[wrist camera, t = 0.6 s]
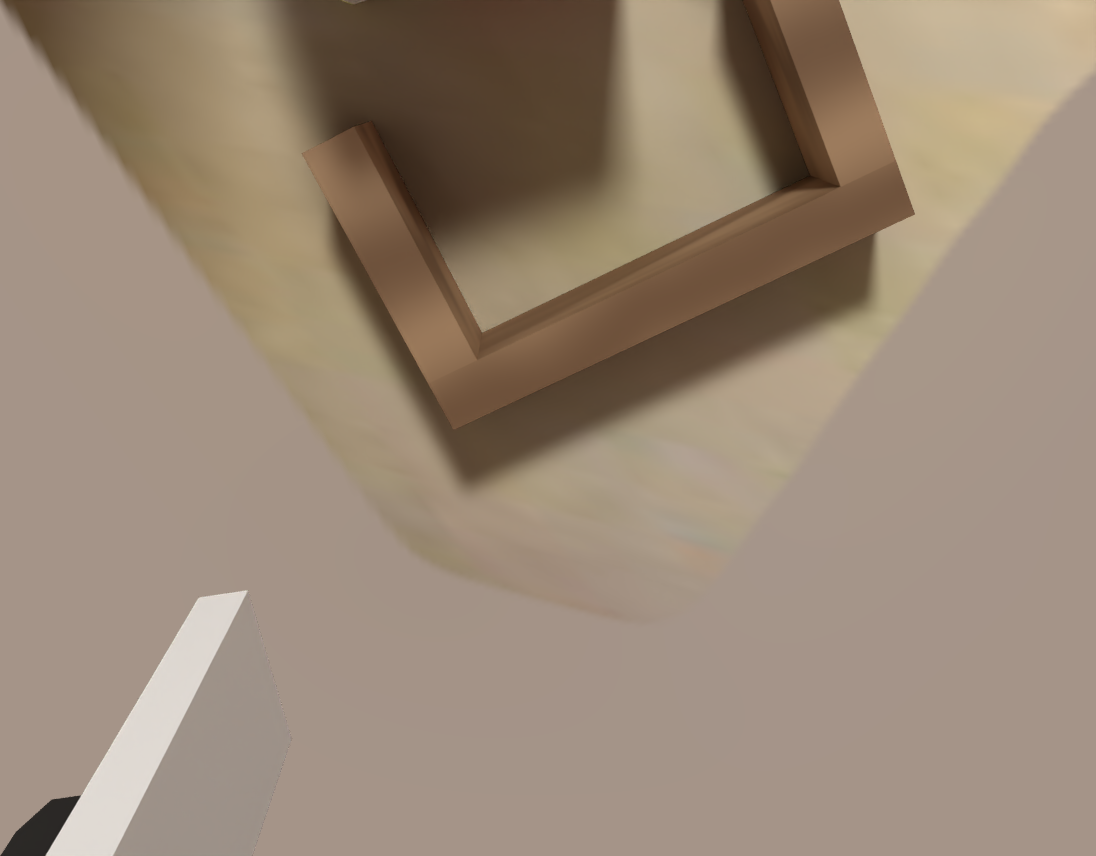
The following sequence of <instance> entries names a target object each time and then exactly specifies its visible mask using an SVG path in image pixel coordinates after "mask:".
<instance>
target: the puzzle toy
mask: <svg viewBox="0 0 1096 856" xmlns="http://www.w3.org/2000/svg"><path fill="white" fill-rule="evenodd" d="M341 1H343V2H346V3H349V4H351V5H354V4H357V3H360V2H363V1H366V0H341Z"/></svg>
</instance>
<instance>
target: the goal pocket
mask: <svg viewBox="0 0 1096 856" xmlns="http://www.w3.org/2000/svg"><path fill="white" fill-rule="evenodd" d="M743 3H744V5H745V8H746V10H747V13H748V16H749V18H750V21H751V23H752V26H753V29H754V31H755V34H756V36H757V39H758V42H759V44H760V47H761V49H762V52H763V54H764V57H765V60H766V62H767V65H768V67H769V70H770V73H771V75H772V78H773V80H774V83H775V86H776V88H777V91H778V93H779V96H780V99H781V101H782V104H783V106H784V109H785V112H786V114H787V117H788V119H789V122H790V125H791V127H792V130H793V132H794V135H795V138H796V140H797V143H798V145H799V148H800V150H801V153H802V156H803V158H804V161H805V163H806V166H807V169H808V171H809V174H810V176H808V177H806V178H804V179H802V180H800V181H798V182H796V183H794V184H792V185H790V186H788V187H785V188H783V189H781V190H779V191H777V192H775V193H773V194H771V195H769V196H767V197H765V198H763V199H760V200H758V201H756V202H754V203H752V204H750V205H748V206H746V207H744V208H742V209H740V210H738V211H735V212H733V213H731V214H729V215H727V216H725V217H723V218H721V219H719V220H717V221H715V222H713V223H710V224H708V225H706V226H704V227H702V228H700V229H698V230H696V231H694V232H692V233H690V234H688V235H685V236H683V237H681V238H679V239H677V240H675V241H673V242H671V243H669V244H667V245H665V246H663V247H660V248H658V249H656V250H654V251H652V252H650V253H648V254H646V255H644V256H642V257H640V258H638V259H635V260H633V261H631V262H629V263H627V264H625V265H623V266H621V267H619V268H617V269H615V270H613V271H610V272H608V273H606V274H604V275H602V276H600V277H598V278H596V279H594V280H592V281H590V282H588V283H586V284H583V285H581V286H579V287H577V288H575V289H573V290H571V291H569V292H567V293H565V294H563V295H561V296H558V297H556V298H554V299H552V300H550V301H548V302H546V303H544V304H542V305H540V306H538V307H536V308H533V309H531V310H529V311H527V312H525V313H523V314H521V315H519V316H517V317H515V318H513V319H511V320H508V321H506V322H504V323H502V324H500V325H498V326H496V327H494V328H492V329H490V330H488V331H486V332H483V333H482V332H481V330H480V328H479V326H478V324H477V323H476V321H475V319H474V317H473V315H472V313H471V311H470V309H469V307H468V305H467V303H466V301H465V299H464V298H463V296H462V294H461V292H460V290H459V288H458V286H457V284H456V282H455V280H454V278H453V276H452V275H451V273H450V271H449V269H448V267H447V265H446V263H445V261H444V259H443V257H442V255H441V253H440V251H439V250H438V248H437V246H436V244H435V242H434V240H433V238H432V236H431V234H430V232H429V230H428V228H427V227H426V225H425V223H424V221H423V219H422V217H421V215H420V213H419V211H418V209H417V207H416V205H415V203H414V202H413V200H412V198H411V196H410V194H409V192H408V190H407V188H406V186H405V184H404V182H403V180H402V178H401V177H400V175H399V173H398V171H397V169H396V167H395V165H394V163H393V161H392V159H391V157H390V155H389V154H388V152H387V150H386V148H385V146H384V144H383V142H382V140H381V138H380V136H379V134H378V132H377V130H376V129H375V127H374V125H373V123H372V121H370V122H367V123H363V124H360V125H357V126H354V127H352V128H350V129H348V130H346V131H344V132H342V133H340V134H338V135H336V136H335V137H333V138H331V139H329V140H327V141H325V142H323V143H321V144H319V145H317V146H315V147H313V148H311V149H310V150H308V151H306V152H304V153H302V155H303V157H304V159H305V160H306V162H307V164H308V166H309V168H310V170H311V171H312V173H313V175H314V177H315V179H316V180H317V182H318V184H319V186H320V188H321V190H322V191H323V193H324V195H325V197H326V199H327V200H328V202H329V204H330V206H331V208H332V210H333V211H334V213H335V215H336V217H337V219H338V221H339V222H340V224H341V226H342V228H343V230H344V231H345V233H346V235H347V237H348V239H349V241H350V242H351V244H352V246H353V248H354V250H355V251H356V253H357V255H358V257H359V259H360V261H361V262H362V264H363V266H364V268H365V270H366V272H367V273H368V275H369V277H370V279H371V281H372V282H373V284H374V286H375V288H376V290H377V292H378V293H379V295H380V297H381V299H382V301H383V302H384V304H385V306H386V308H387V310H388V312H389V313H390V315H391V317H392V319H393V321H394V323H395V324H396V326H397V328H398V330H399V332H400V333H401V335H402V337H403V339H404V341H405V343H406V344H407V346H408V348H409V350H410V352H411V353H412V355H413V357H414V359H415V361H416V363H417V364H418V366H419V368H420V370H421V372H422V373H423V375H424V377H425V379H426V381H427V383H428V384H429V386H430V388H431V390H432V392H433V394H434V395H435V397H436V399H437V401H438V403H439V404H440V406H441V408H442V410H443V412H444V414H445V415H446V417H447V419H448V421H449V423H450V424H451V426H452V428H453V430H455V429H457V428H459V427H461V426H463V425H466V424H468V423H470V422H472V421H474V420H476V419H478V418H481V417H483V416H485V415H487V414H489V413H491V412H493V411H495V410H498V409H500V408H502V407H504V406H506V405H508V404H510V403H513V402H515V401H517V400H519V399H521V398H523V397H525V396H528V395H530V394H532V393H534V392H536V391H538V390H540V389H543V388H545V387H547V386H549V385H551V384H553V383H555V382H557V381H560V380H562V379H564V378H566V377H568V376H570V375H572V374H575V373H577V372H579V371H581V370H583V369H585V368H587V367H590V366H592V365H594V364H596V363H598V362H600V361H602V360H604V359H607V358H609V357H611V356H613V355H615V354H617V353H619V352H622V351H624V350H626V349H628V348H630V347H632V346H634V345H637V344H639V343H641V342H643V341H645V340H647V339H649V338H652V337H654V336H656V335H658V334H660V333H662V332H664V331H666V330H669V329H671V328H673V327H675V326H677V325H679V324H681V323H684V322H686V321H688V320H690V319H692V318H694V317H696V316H699V315H701V314H703V313H705V312H707V311H709V310H711V309H713V308H716V307H718V306H720V305H722V304H724V303H726V302H728V301H731V300H733V299H735V298H737V297H739V296H741V295H743V294H746V293H748V292H750V291H752V290H754V289H756V288H758V287H760V286H763V285H765V284H767V283H769V282H771V281H773V280H775V279H778V278H780V277H782V276H784V275H786V274H788V273H790V272H793V271H795V270H797V269H799V268H801V267H803V266H805V265H808V264H810V263H812V262H814V261H816V260H818V259H820V258H822V257H825V256H827V255H829V254H831V253H833V252H835V251H837V250H840V249H842V248H844V247H846V246H848V245H850V244H852V243H855V242H857V241H859V240H861V239H863V238H865V237H867V236H869V235H872V234H874V233H876V232H878V231H880V230H882V229H884V228H887V227H889V226H891V225H893V224H895V223H897V222H899V221H902V220H904V219H906V218H908V217H910V216H912V215H914V214H915V213H914V210H913V208H912V205H911V202H910V199H909V196H908V193H907V191H906V188H905V185H904V182H903V179H902V177H901V174H900V171H899V168H898V165H897V163H896V160H895V157H894V154H893V151H892V148H891V146H890V143H889V140H888V137H887V134H886V132H885V129H884V126H883V123H882V120H881V118H880V115H879V112H878V109H877V106H876V103H875V101H874V98H873V95H872V92H871V89H870V87H869V84H868V81H867V78H866V75H865V72H864V70H863V67H862V64H861V61H860V58H859V56H858V53H857V50H856V47H855V44H854V42H853V39H852V36H851V33H850V30H849V27H848V25H847V22H846V19H845V16H844V13H843V11H842V8H841V5H840V2H839V0H743Z"/></svg>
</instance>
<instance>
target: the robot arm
mask: <svg viewBox="0 0 1096 856" xmlns="http://www.w3.org/2000/svg"><path fill="white" fill-rule="evenodd" d="M290 742H291V735H290V732H289V728H288V725H287V721H286V718H285V714H284V711H283V708H282V704H281V701H280V697H279V694H278V691H277V687H276V684H275V681H274V677H273V674H272V670H271V667H270V663H269V660H268V656H267V653H266V650H265V647H264V643H263V640H262V636H261V633H260V629H259V626H258V622H257V619H256V616H255V612H254V609H253V605H252V602H251V599H250V596H249V592H248V590H246V591H239V592H233V593H226V594H219V595H213V596H206V597H200V598H198V600H197V601H196V603H195V605H194V607H193V608H192V610H191V612H190V613H189V615H188V617H187V618H186V620H185V622H184V623H183V625H182V627H181V628H180V630H179V632H178V633H177V635H176V637H175V639H174V640H173V642H172V643H171V645H170V647H169V649H168V650H167V652H166V654H165V655H164V657H163V659H162V660H161V662H160V664H159V665H158V667H157V669H156V671H155V672H154V674H153V676H152V677H151V679H150V681H149V682H148V684H147V686H146V687H145V689H144V691H143V693H142V694H141V696H140V698H139V699H138V701H137V703H136V704H135V706H134V708H133V709H132V711H131V713H130V714H129V716H128V718H127V719H126V721H125V723H124V724H123V726H122V728H121V729H120V731H119V733H118V735H117V736H116V738H115V740H114V741H113V743H112V745H111V746H110V748H109V750H108V751H107V753H106V755H105V757H104V758H103V760H102V762H101V763H100V765H99V767H98V768H97V770H96V772H95V773H94V775H93V777H92V778H91V780H90V782H89V783H88V785H87V787H86V789H85V790H84V792H83V794H82V795H81V796H74V797H68V798H61V799H53V800H51V801H50V802H49V803H47V805H45V806H44V807H43V808H42V809H41V810H40V811H39V812H38V813H36V814H35V815H34V816H33V817H32V818H31V819H30V820H29V821H28V822H27V823H25V824H24V825H23V826H22V827H21V828H20V829H19V830H18V831H17V832H16V833H15V834H14V836H13V837H12V839H11V841H10V842H9V844H8V845H7V847H6V848H5V850H4V851H3V853H2V854H1V856H253V852H254V850H255V846H256V843H257V841H258V838H259V835H260V832H261V829H262V826H263V823H264V820H265V816H266V814H267V811H268V808H269V805H270V802H271V799H272V796H273V793H274V790H275V787H276V784H277V781H278V778H279V775H280V772H281V769H282V766H283V763H284V760H285V757H286V754H287V751H288V748H289V745H290Z"/></svg>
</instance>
